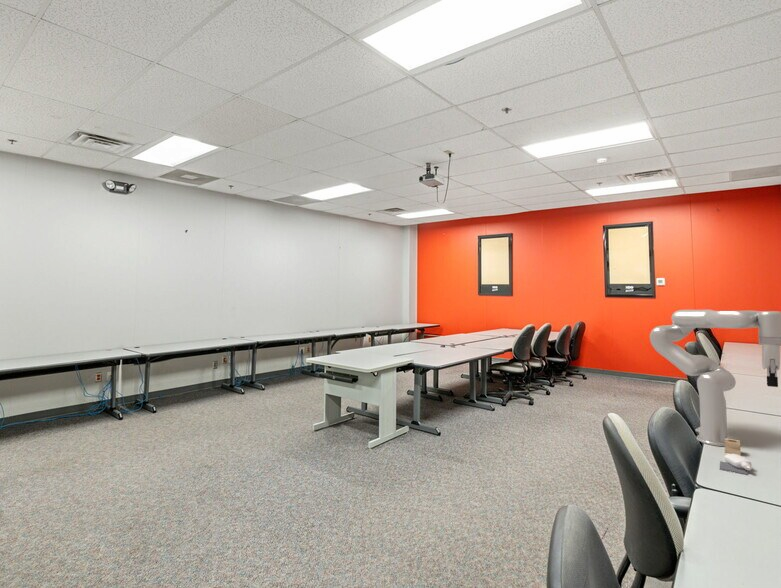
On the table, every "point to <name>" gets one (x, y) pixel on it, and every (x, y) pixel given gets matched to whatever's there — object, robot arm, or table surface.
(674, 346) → the robot arm
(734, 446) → the oak cube
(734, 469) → the mat
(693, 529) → the table surface
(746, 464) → the eye dropper bottle
